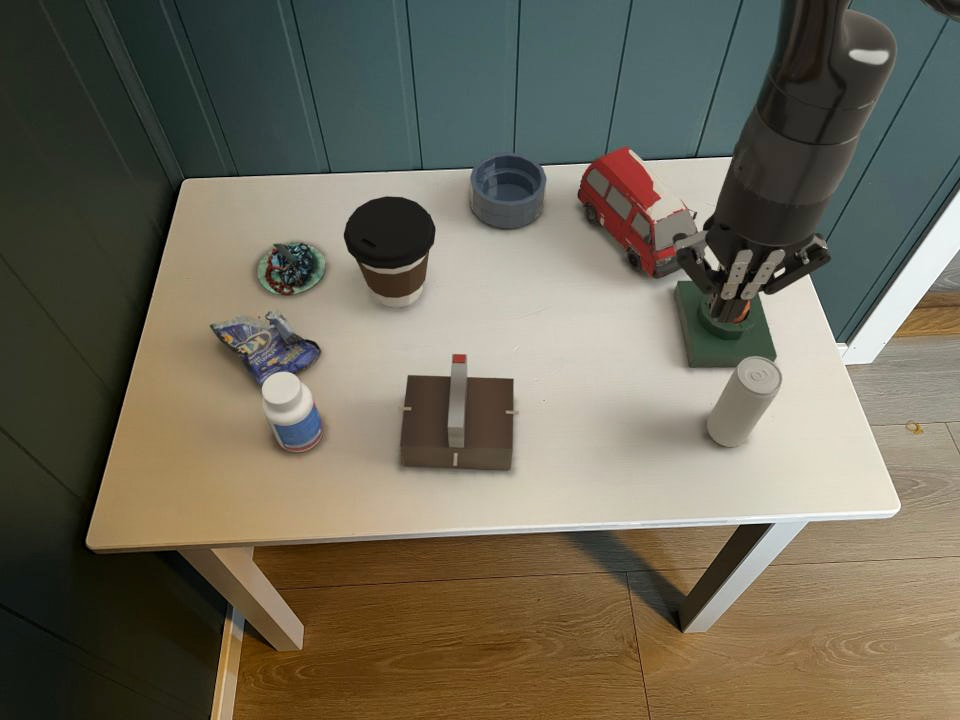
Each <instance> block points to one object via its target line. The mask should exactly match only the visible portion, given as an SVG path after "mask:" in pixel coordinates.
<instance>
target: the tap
mask: <svg viewBox="0 0 960 720" xmlns="http://www.w3.org/2000/svg"><path fill="white" fill-rule="evenodd" d="M450 369H451V370H450V371H451V372H450V376H451V382H450V397H449V412H448V441H449V447H459V448H464V436H465V416H466V397H467V377H469V375H468V354H467V353H452V355H451V368H450Z"/></svg>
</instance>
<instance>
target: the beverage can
mask: <svg viewBox="0 0 960 720" xmlns="http://www.w3.org/2000/svg"><path fill="white" fill-rule="evenodd" d="M783 379H784V378H783V373H782V371H781V369H780V367H778V365H777V364H776V363H774V362H772V361H770V360H768V359H766V358H763V357H758V356H753V357H748V358H746V359H744V360H742V361H741V362H740V363H739V364H738V365H737V367H734V370H733V372H732V373H731V375H730V377H729V379H728V381H727V383H726V384H725V386H724V388H723V390H722V392H721V394H720V395H719V397H718V400H717V401H716V403H715V405H714V406H713V409H712V411H711V413H710V414H709V416H708V418H707V420H706V430H707V432H708V435H709V436H710V438H711V439H712V440H713V441H714V442H715V443H717V444H719V445H721V446H724V447H727V448H735V447H739V446H741V445H742V444H744V443H745V442H746V441H747V439H748V438H749V436H750V434H751V433H752V432H753V431H754V429H755V427H756V425H758V423H759V421H760V420H761V419H762V417H763V416H764V414H765V412H766V411H767V410H768V408H769V407H770V405H771V404H772V402H773V401H774V400H775V398H776V396H777V395H778V393H779V392H780V390H781V388H782V384H783Z"/></svg>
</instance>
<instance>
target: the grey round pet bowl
mask: <svg viewBox="0 0 960 720" xmlns="http://www.w3.org/2000/svg"><path fill="white" fill-rule="evenodd" d="M547 179H548V178H547V175H546V172H545V169H544V167H542V166H541V164H540V163H539V162H537V161H536V159H534V158H531V157H530V156H527V155H525V154H523V153H517V152H508V151H507V152H497V153H493V154H490V155H488V156H486V157H484V158H481V159H480V160H479V161H478V162H477V163H476V164H475V165H474V166H473V167H472V170H471V173H470V177H469V202H470V206H471V209H472V213H474V215H476V216H477V218H478V219H480V220H481V221H482V222H484V223H486V224H488V225H490V226H493V227H496V228H504V229H513V228H520V227H524V226H526V225H528V224H530V223H532V222H533V221H535V220H536V219H537V218H538V217H539V216H540V215H541V213H542V212H543V209H544V205H545V201H546V200H545V199H546V188H547Z"/></svg>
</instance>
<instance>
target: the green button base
mask: <svg viewBox="0 0 960 720" xmlns="http://www.w3.org/2000/svg"><path fill="white" fill-rule="evenodd" d="M710 296H711V294H709V295H706V294H703V293H702V292H701V290H700V289H699V288H698V287H697V286H696V284H695V283H694V282H693V281H692V280H677V282H676V284H675V287H674V297H675V302H676V307H677V312H678V317H679V321H680V326H681V330H682V335H683V339H684V345H685V349H686V355H687V359H688V364H689V368H736V367H737V365H738V364H739V363H740V362H741V361H742V360H744V359H746V358H748V357H753V356H758V357H763V358H766V359H768V360H770V361H772V362H773V363H774V362H775V361H776V359H777V357H778V355H777V351H776V348H775V345H774V341H773V338H772V335H771V331H770V327H769V324H768V320H767V317H766V314H765V309H764V307H763V303H762V300H761V296H760V292H758V293H756V295H755V296H754V297H753V298H751V299H749V302H750V307H749V309H748V311H747V313H746V315H745V317H744V319H743V320H741V321H739V322H736V323H724V324H719V323H715V320H714V318H711V315H710V311H709V306H708V300H709V298H710Z"/></svg>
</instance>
